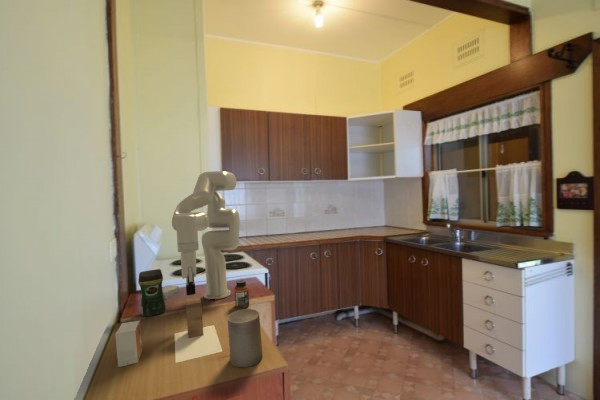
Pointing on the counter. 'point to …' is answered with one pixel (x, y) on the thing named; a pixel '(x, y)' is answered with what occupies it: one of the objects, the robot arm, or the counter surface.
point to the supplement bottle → (241, 294)
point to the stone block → (169, 291)
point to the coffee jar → (151, 292)
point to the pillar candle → (244, 337)
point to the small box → (128, 343)
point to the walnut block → (194, 317)
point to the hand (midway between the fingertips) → (191, 294)
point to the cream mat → (196, 344)
